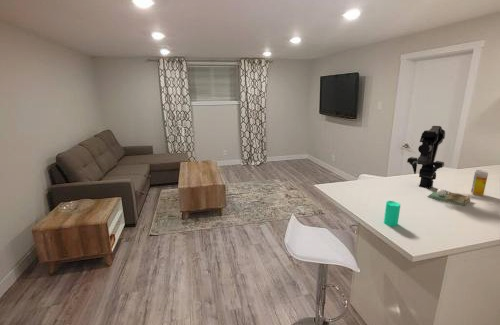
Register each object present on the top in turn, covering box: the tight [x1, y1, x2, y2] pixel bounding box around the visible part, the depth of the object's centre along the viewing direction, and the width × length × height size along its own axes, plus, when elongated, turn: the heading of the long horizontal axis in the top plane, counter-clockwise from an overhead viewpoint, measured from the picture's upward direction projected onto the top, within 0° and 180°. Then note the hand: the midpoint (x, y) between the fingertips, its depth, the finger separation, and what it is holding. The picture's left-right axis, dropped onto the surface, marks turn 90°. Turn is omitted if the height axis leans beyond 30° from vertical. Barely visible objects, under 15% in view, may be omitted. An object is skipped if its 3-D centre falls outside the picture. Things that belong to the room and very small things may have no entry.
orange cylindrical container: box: [470, 169, 489, 197], centre depth 163 cm, size 6×6×15 cm
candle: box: [383, 200, 402, 227], centre depth 127 cm, size 6×6×12 cm
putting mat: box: [427, 190, 471, 207], centre depth 159 cm, size 18×14×1 cm
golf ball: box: [436, 188, 447, 196], centre depth 161 cm, size 4×4×4 cm
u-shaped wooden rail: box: [445, 191, 471, 205], centre depth 155 cm, size 10×9×2 cm
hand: (423, 175), depth 167 cm, fingers open, 9 cm apart
